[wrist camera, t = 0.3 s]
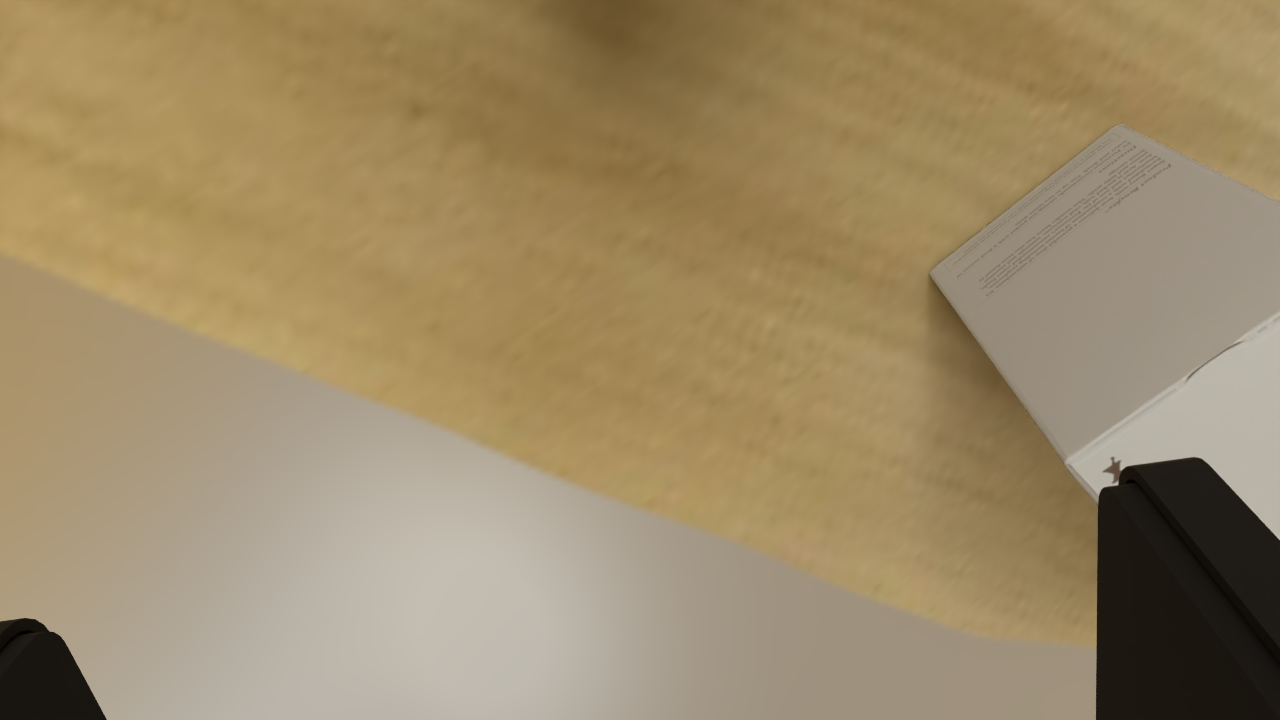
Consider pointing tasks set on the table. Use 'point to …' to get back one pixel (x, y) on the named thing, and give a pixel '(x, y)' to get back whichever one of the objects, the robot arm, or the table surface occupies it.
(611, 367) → the table surface
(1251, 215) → the supplement box
